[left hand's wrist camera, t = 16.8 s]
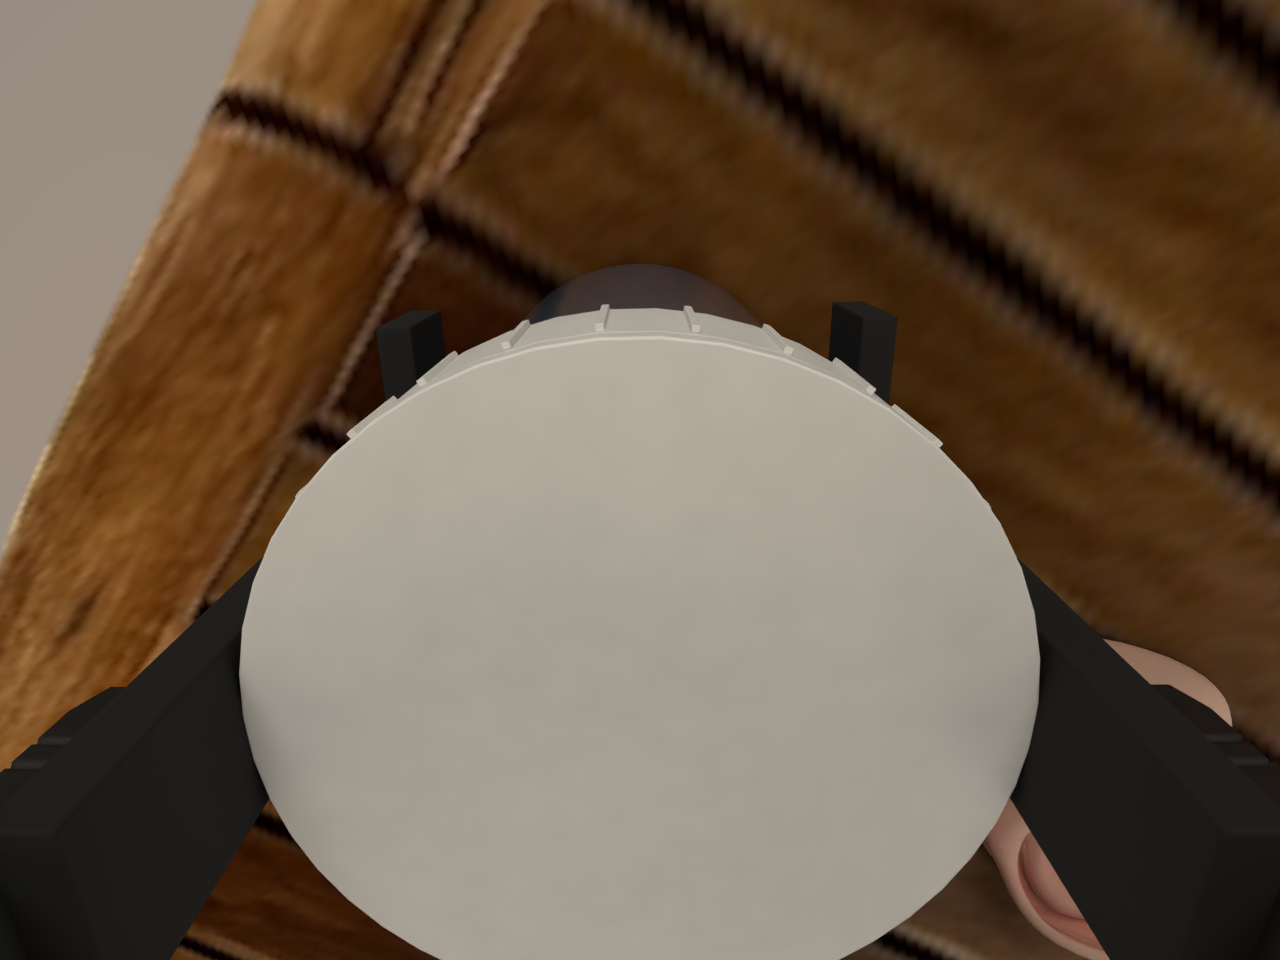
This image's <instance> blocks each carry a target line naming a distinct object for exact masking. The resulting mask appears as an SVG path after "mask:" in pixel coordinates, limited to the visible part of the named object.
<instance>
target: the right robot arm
mask: <svg viewBox="0 0 1280 960" xmlns="http://www.w3.org/2000/svg"><path fill="white" fill-rule="evenodd" d="M896 326H897V317H895V316H893V315H890V314H888V313H886V312H884V311H882V310H880V309H877V308H875V307H873V306H871V305H869V304H866V303H864V302H833V306H832V321H831V335H830V350H829V361H831V362H833V360H834V359H835V358H838V359H839V360H841V361H842V362H843V363H844V364H846V365H847V366H848V367H849V368H851V369H852V370H853V371H854V372H856V373H857V374H858V375H859V376H861V377H862V378H863V379H864V380H866V381H867V382H868V383H869V384H871V385H872V386H873V387H874V388H876V391H875V392H874V393H875V394H876V395H877V396H878V397H880V398H881V399H882V400H883V401H884V402H886V403H887V404H888V405H889V396H890V386H891V376H892V366H893V356H894V346H895V336H896ZM376 335H377V342H378V349H379V356H380V363H381V370H382V377H383V384H384V391H385V398H386V401H387V400H389V399H390V398H391V397H392V396H395V397H396V398H397V399H399V398H400V397H401V396H403V395H404V394H405V393H406V392H407V391H409V390H410V389H411V388H412V387H414V386H415V385H416V384H417V382H416V381H417V380H418V379H419V378H421V377H422V376H423V375H424V374H426V373H427V372H428V371H429V370H430V369H432V368H433V367H434V366H435V365H437V364H438V363H439V362H440V361H442V360H443V359H444V358H445V357H446V355H445V346H444V337H443V328H442V319H441V310H435V311H410V312H408V313H406V314H404V315H402V316H400V317H398V318H396V319H393V320H391V321H389V322H387V323H385V324H383V325H381V326H379V327H377V328H376Z"/></svg>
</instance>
